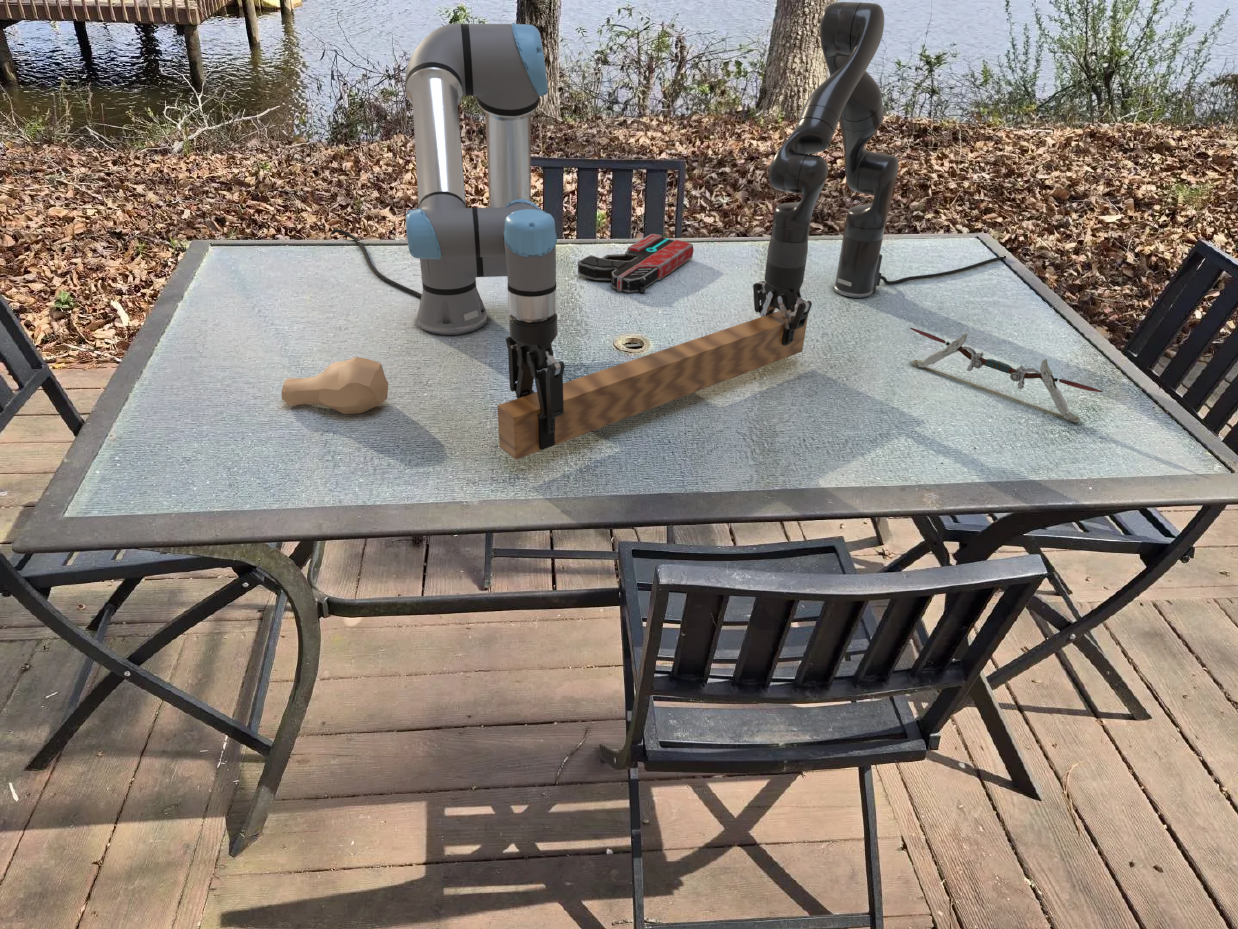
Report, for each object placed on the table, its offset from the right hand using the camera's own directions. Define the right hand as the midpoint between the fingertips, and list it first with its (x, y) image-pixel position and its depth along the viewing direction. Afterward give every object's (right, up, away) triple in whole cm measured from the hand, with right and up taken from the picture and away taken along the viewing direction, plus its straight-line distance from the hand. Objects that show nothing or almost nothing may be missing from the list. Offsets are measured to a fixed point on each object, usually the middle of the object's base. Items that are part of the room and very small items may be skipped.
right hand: (775, 338), depth 179 cm
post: (-23, -12, -14) cm, 30 cm away
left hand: (-46, -21, -29) cm, 59 cm away
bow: (+42, -11, -3) cm, 44 cm away
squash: (-85, -15, -14) cm, 87 cm away
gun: (-27, +25, +47) cm, 60 cm away
